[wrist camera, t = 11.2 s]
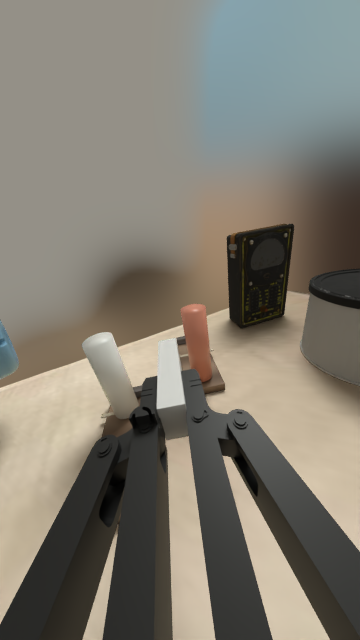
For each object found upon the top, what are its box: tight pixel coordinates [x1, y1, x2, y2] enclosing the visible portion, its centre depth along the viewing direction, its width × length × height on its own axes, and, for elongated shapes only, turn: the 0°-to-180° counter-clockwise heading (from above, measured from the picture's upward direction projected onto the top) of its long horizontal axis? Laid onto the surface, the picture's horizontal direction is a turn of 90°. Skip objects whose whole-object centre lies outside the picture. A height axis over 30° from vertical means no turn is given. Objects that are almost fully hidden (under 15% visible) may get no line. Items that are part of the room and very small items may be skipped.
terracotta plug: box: [181, 304, 212, 382], centre depth 31 cm, size 4×4×14 cm
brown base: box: [176, 336, 225, 394], centre depth 39 cm, size 16×9×3 cm, turn 7°
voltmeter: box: [227, 224, 294, 328], centre depth 49 cm, size 16×9×25 cm, turn 107°
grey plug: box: [82, 332, 139, 419], centre depth 27 cm, size 4×4×14 cm
